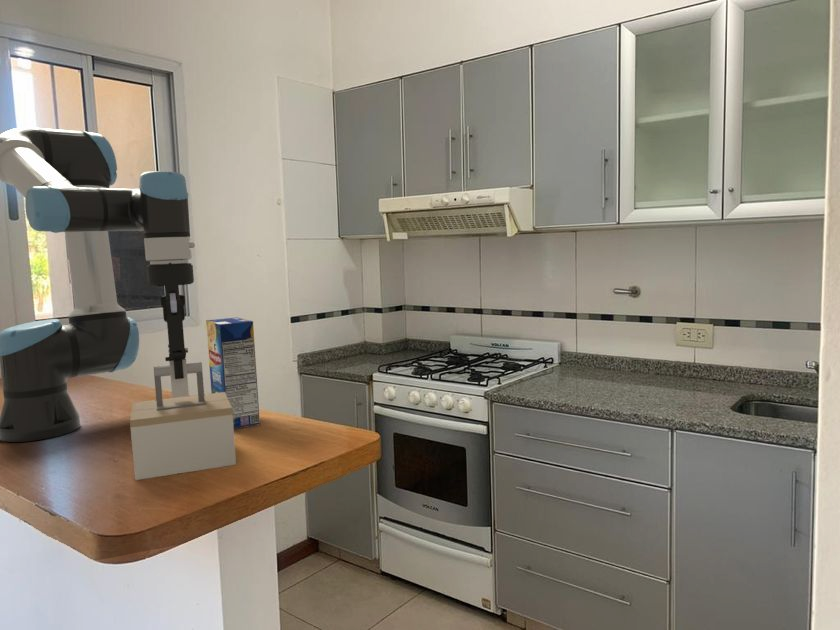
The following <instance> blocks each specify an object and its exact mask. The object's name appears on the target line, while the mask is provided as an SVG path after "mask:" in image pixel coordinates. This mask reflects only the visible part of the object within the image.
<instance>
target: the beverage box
mask: <svg viewBox="0 0 840 630" xmlns="http://www.w3.org/2000/svg"><path fill="white" fill-rule="evenodd" d="M205 322H206V323H205V325H206V326H205V327H206V337H207V339H206V340H207V350H208V351H207V353H208V362H209V363H208V364H209V377H210V390H211V391H210V392H211V393H210V394H212V393H220V392H225V394H226V396H227V398H228V400H229V402H230V405H231V407H232V415H233V428H234V430H236V429H242V427H243V428H248V427H253V426H252V425H254V426H258V425H257V424H259V425H261V422H260V421H261V420H260V408H259V405H260V404H259V392H258V390H259V389H258V376H257V374H258V373H257V363H256V359H257V358H256V348H255V347H256V346H255V334H254V332H255V331H254V321H253V320H249V319H245V318H242V317H237V316H236V317H229V318H219V319H218V318H217V319H215V318H214V319H207V320H205ZM247 426H248V427H247Z"/></svg>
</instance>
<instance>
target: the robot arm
mask: <svg viewBox="0 0 840 630" xmlns="http://www.w3.org/2000/svg"><path fill="white" fill-rule="evenodd" d="M117 164H118V163H117V159H116V155H115V151H114V149H113V147H112V145H111V143H110V142H109V140H108V139H107V138H106V137H105V136H103V135H102V134H100V133H96V132H90V131H89V132H88V131H85V130H71V129H70V130H69V129H56V128H55V129H54V128H44V127H43V128H42V127H35V126H23V127H17V128H12V129H10V130H6V131H5V132H2V133H1V134H0V180H1V182H2V183H4V184H7V185H9V186H12V187H14V189H16V190H17V191H18V192H19V193H20V194H21V196H23V198H24V206H25V216H26V219H27V220H28V225H29V226H30V228H31V229H32V230H34V231H37V232H50V233H54V234H58V233H64V234H65V243H66V249H67V256H68V257H67V258H68V264H69V265H68V266H69V274H70V281H71V287H72V295H73V303H74V308H73V310H72V311H71V312H70V313H69V315H68V323H69V324H63V323H62V322H61V320H60V319H58V318H49V319H43V320H37V321H35V320H34V321H29V322H26V323H21V324H18V325H14V326H11V327H10V326H9V327H8V328H5V329H3V330H2V331H1V332H0V374H1V383H2V384H1V385H2V393H3V404H2V408H1V412H0V441H1V442H8V443H11V442H12V443H19V442H21V443H22V442H24V443H25V442H33V441H38V440H39V441H40V440H46V439H51V438H55V437H59V436H62V435H66V434H69V433H72V432H74V431H76V430H78V429H79V428H80V427H81V420H80V414H79V412H78V410H77V408H76V406H75V405H74V402H73V400H72V398H71V395H70V394H69V391H68V379H73V378H78V377H84V376H91V375H98V374H105V373H114V372H117V371H121V370H127V369H128V368H131V366H133V364H134V363H135V362H136V359H137V356H138V354H139V353H138V352H139V349H140V333H139V327H138V326H137V322H136V320H135V319H133V318H131V317H127V311H126V309H125V308H124V307H122V306H121V305H120V304H119V303H118V298H117V291H116V283H115V282H116V281H115V275H114V269H113V261H112V260H113V259H112V253H111V251H112V250H111V244H110V238H109V236H110V235H109V232H129V231H130V232H132V233H133V232H134V233H135V232H136V233H137V232H138V233H139V232H141V233H143V237H144V238H143V244H144V255H145V256H144V257H145V261H146V262H149V264H148V265H147V266H146V272H147V273H146V274H147V276H146V277H147V284H148V285H149V286H150V287H164V291H165V293H164V295H160V297H159V299H160V305H161V307H162V313H163V315H162V316H163V321H164V322H165V323H166V325H167V338H168V345H167V347H168V356H167V357H165V359H164V360H165V362H169V365H170V375H171V376H170V385H171V387H170V388H171V398H177V397H186V396H190V395H189V394H190V393H189V391H190V390H189V381H188V379H189V378H188V374H187V365H186V364H187V359H186V358H187V353H189V349H188V347H185V336H184V335H185V334H184V333H185V332H184V323H183V322H184V321H185V320H186V319H185V318H186V316H185V315H186V314H185V305H186V297H185V295H184V294H180V289H179V288H180V287H179V286H186V285H192V284H193V283H194V282H195V281H194V280H195V277H194V265H193V264H192V263H191V262H189V261H190V260H191V259H192V258H193V257H192V256H193V255H192V250H191V249H194V248H195V243H194V242H191V230H190V229H191V228H190V213H189V211H190V209H189V193H188V190H187V189H188V188H187V181H186V180H187V179H186V176H184V174H182V173H180V172H176V171H163V170H161V171H160V170H159V171H158V170H157V171H145V172H143V173H142V174H140V176H139V186H138V188H111V186H113V185H114V184H115V183H116V182H117V178H118V173H117V171H118V165H117Z"/></svg>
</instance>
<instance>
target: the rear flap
mask: <svg viewBox="0 0 840 630" xmlns="http://www.w3.org/2000/svg"><path fill="white" fill-rule="evenodd" d="M186 365H187V375H188V374H189V375H190V374H196V385H197V386H196V387H197V394H196V395H189V396H185V397H176V398H172V397H170V398H163V388H162V377H168V376H170V377H171V375H170V364H169V365H160V366H159V365H158V366H153V376H154V389H155V399H151V400H143V401H134V402H133V403H132V409H131V412H132V411H136V410H145V409H153V408H157V407H164V406H172V405H181V404H189V403H198V402H212V401H220V400H228V398H227V396H226V394H225V392H220V393H205V390H204V389H205V388H204V376H203V375H204V374H203V362H201V361H200V362H193V363H192V362H191V363H190V362H189V363H186Z"/></svg>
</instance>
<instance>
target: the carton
mask: <svg viewBox="0 0 840 630" xmlns="http://www.w3.org/2000/svg"><path fill="white" fill-rule="evenodd" d="M129 425H130V435H131V436H130V437H131V449H132V458H133V470H134V472H133V473H134V480H135V481H139V480H145V479H153V478H159V477H165V476H166V477H167V476H171V475H177V474H178V473H179V474H184V473H190V472H196V471H203V470H209V469H210V470H211V469H216V468H224V467H230V466H235V465H236V466H237V459H236V458H237V457H236V447H235V446H236V444H235V431H234V430H235V429H234V428H233V415H232V407H231V405H230V402H229V400H220V401H212V402H198V403H189V404H181V405H172V406H164V407H157V408H153V409H145V410H136V411H132V410H131V413H130V417H129ZM179 474H178V475H179Z"/></svg>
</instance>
